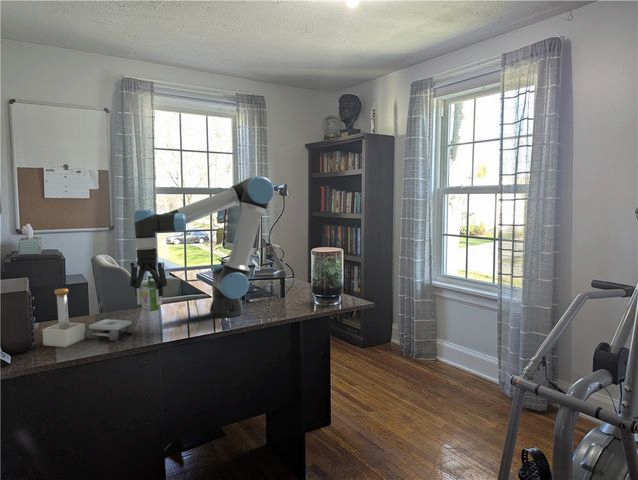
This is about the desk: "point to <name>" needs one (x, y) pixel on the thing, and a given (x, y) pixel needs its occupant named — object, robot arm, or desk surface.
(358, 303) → the desk surface
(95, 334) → the cart
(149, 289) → the ink box
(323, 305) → the desk surface
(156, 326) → the desk surface
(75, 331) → the tray
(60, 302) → the orange capped clear tube
